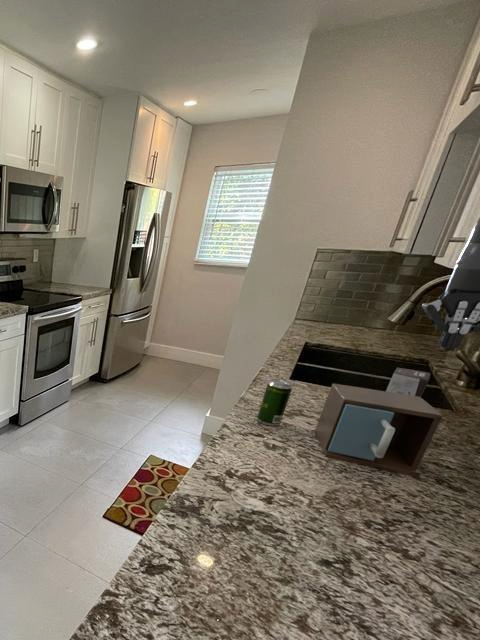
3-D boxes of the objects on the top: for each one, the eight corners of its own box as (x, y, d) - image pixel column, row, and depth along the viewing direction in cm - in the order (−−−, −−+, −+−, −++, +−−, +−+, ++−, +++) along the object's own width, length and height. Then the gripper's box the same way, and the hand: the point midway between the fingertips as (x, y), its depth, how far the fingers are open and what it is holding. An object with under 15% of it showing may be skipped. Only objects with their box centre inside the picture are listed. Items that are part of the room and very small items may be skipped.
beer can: (284, 425, 111) (298, 384, 107) (269, 427, 110) (282, 386, 105) (266, 417, 116) (279, 377, 111) (251, 418, 114) (263, 378, 110)
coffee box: (402, 438, 105) (429, 380, 100) (368, 429, 110) (392, 372, 104) (406, 428, 111) (432, 372, 105) (374, 420, 115) (397, 366, 110)
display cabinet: (396, 449, 100) (420, 396, 95) (418, 477, 89) (447, 419, 84) (314, 432, 107) (332, 383, 102) (325, 456, 96) (346, 402, 91)
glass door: (372, 459, 92) (393, 412, 88) (381, 472, 87) (403, 423, 83) (327, 449, 96) (345, 404, 92) (333, 461, 91) (353, 414, 87)
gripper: (446, 266, 82) (411, 349, 88) (545, 270, 76) (501, 358, 82) (429, 264, 88) (398, 341, 95) (520, 267, 82) (480, 349, 89)
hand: (446, 349), depth 89 cm, fingers closed
